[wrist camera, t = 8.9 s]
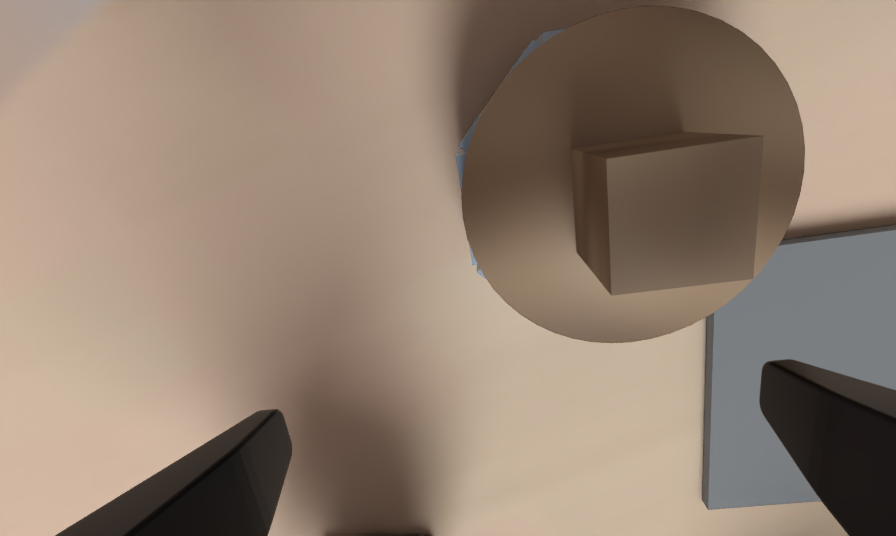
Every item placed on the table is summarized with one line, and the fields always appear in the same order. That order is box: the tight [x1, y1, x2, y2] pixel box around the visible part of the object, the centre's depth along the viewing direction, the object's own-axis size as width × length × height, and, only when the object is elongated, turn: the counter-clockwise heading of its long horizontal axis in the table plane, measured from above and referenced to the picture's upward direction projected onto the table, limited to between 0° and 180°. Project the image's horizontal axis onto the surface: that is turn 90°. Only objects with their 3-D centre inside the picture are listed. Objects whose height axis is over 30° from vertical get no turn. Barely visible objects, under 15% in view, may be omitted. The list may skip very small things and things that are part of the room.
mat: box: [702, 225, 896, 510], centre depth 20 cm, size 14×14×1 cm
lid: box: [461, 6, 805, 343], centre depth 12 cm, size 10×10×5 cm
